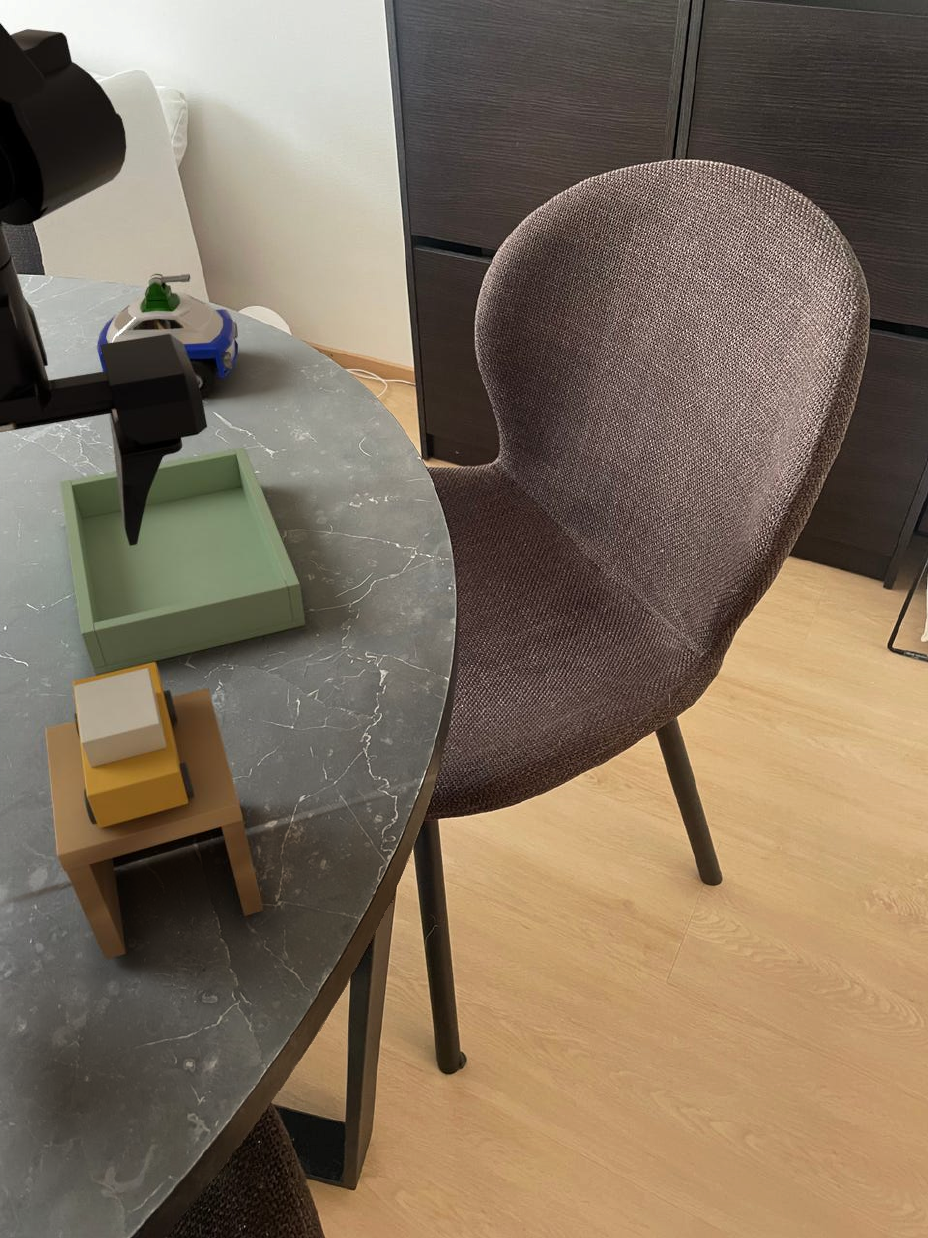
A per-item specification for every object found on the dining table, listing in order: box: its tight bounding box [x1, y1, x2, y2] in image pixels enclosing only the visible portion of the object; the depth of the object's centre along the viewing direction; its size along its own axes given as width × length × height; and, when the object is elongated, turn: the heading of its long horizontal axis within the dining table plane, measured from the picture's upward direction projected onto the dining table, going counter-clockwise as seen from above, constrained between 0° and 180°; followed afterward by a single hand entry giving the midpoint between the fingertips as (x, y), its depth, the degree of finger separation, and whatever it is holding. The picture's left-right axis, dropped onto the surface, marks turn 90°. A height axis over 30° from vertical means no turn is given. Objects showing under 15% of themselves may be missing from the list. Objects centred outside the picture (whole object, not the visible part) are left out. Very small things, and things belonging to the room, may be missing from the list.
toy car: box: [96, 273, 239, 399], centre depth 90 cm, size 9×12×10 cm
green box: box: [59, 446, 306, 676], centre depth 70 cm, size 14×18×4 cm
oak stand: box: [44, 687, 264, 960], centre depth 49 cm, size 8×8×9 cm
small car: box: [72, 661, 194, 828], centre depth 45 cm, size 7×4×4 cm, turn 21°
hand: (41, 559), depth 52 cm, fingers open, 9 cm apart
